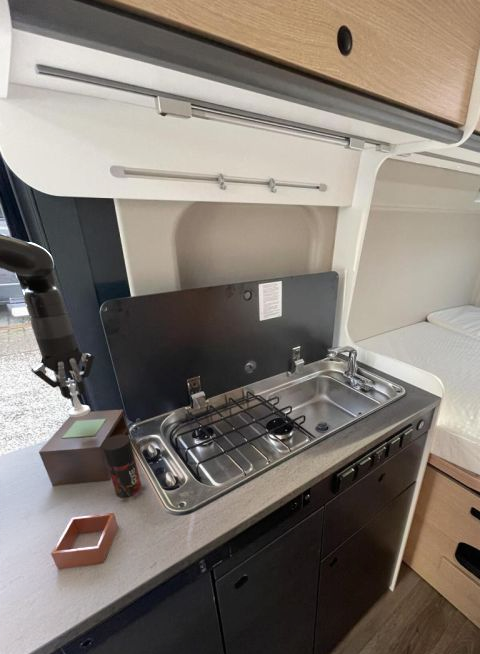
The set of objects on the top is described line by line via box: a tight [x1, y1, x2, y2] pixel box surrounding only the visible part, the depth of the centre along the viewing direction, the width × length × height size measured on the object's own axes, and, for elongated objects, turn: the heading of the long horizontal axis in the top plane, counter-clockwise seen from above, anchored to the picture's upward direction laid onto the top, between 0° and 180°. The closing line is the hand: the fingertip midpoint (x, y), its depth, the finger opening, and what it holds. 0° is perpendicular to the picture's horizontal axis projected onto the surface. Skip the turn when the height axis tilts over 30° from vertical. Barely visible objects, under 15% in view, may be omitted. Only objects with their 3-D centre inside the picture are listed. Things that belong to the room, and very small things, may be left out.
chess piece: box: [66, 377, 91, 417], centre depth 85 cm, size 5×5×10 cm
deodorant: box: [102, 435, 142, 499], centre depth 81 cm, size 6×6×15 cm
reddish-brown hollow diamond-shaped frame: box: [50, 512, 119, 570], centre depth 68 cm, size 9×9×4 cm
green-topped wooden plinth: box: [38, 409, 130, 486], centre depth 92 cm, size 14×18×11 cm
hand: (74, 395), depth 85 cm, fingers closed on chess piece
